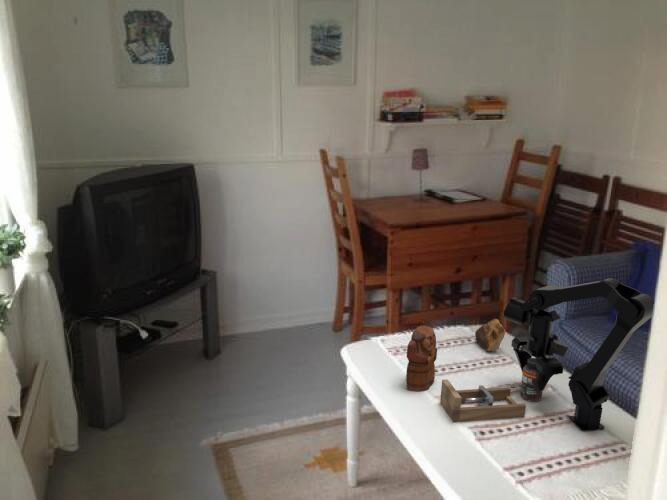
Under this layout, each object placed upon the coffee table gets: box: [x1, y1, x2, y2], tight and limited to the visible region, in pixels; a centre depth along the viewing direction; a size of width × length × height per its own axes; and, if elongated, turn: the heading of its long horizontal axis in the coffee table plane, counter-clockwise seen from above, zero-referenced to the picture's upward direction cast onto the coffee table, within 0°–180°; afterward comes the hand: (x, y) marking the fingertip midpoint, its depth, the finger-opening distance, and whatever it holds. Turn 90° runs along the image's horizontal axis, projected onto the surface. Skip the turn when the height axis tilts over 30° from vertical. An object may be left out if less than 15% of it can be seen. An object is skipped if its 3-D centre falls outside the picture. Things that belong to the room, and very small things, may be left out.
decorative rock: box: [474, 318, 506, 352], centre depth 200 cm, size 12×6×11 cm, turn 14°
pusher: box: [465, 385, 494, 406], centre depth 161 cm, size 7×6×5 cm
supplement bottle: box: [519, 357, 544, 402], centre depth 168 cm, size 6×6×11 cm
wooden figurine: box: [405, 325, 438, 392], centre depth 172 cm, size 12×6×18 cm, turn 149°
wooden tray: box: [439, 379, 527, 423], centre depth 161 cm, size 10×20×7 cm, turn 100°
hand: (532, 382), depth 168 cm, fingers open, 9 cm apart
